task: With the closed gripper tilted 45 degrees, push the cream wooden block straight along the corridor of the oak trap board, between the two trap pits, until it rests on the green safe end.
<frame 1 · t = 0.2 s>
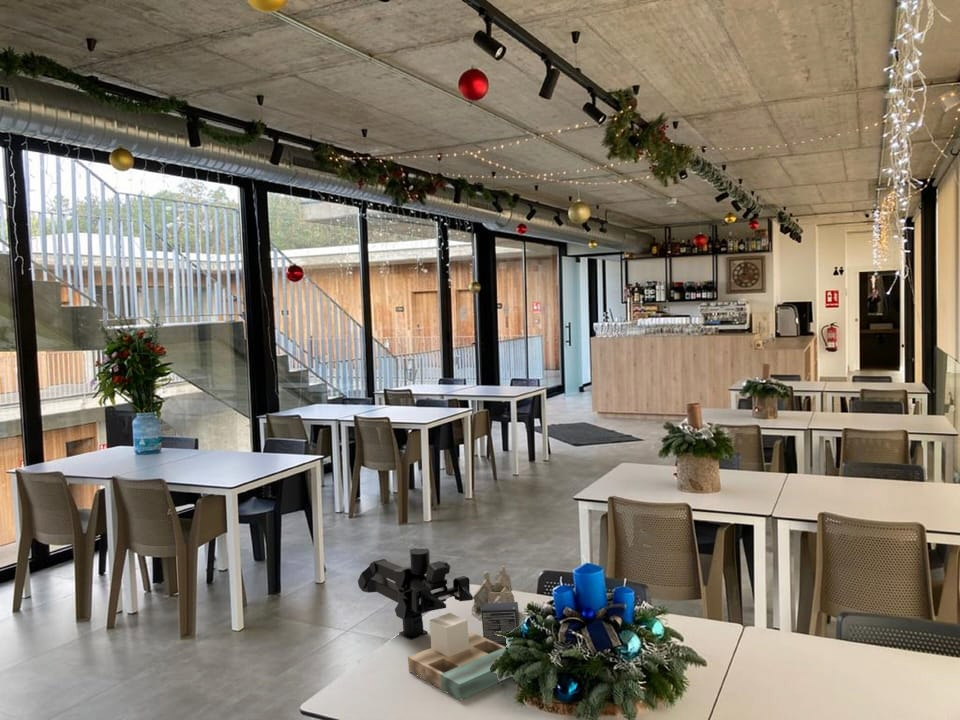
hand: (459, 602, 210), 16 cm above the table, tool horizontal, fingers open, 9 cm apart
ceramic cottage: (493, 616, 241), on the table
trap board: (465, 670, 204), on the table
small box: (502, 641, 221), on the table
cream block: (450, 648, 209), point 4 cm above the table, touching trap board
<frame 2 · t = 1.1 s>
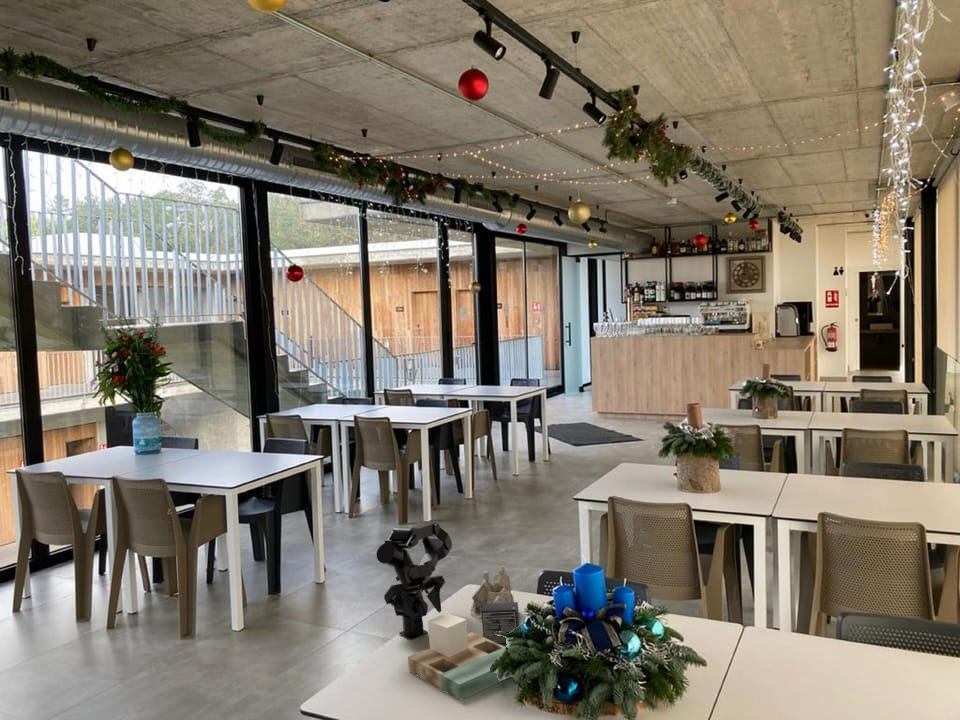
hand: (427, 615, 215), 11 cm above the table, tool tilted 45°, fingers open, 9 cm apart
nothing on the table moved.
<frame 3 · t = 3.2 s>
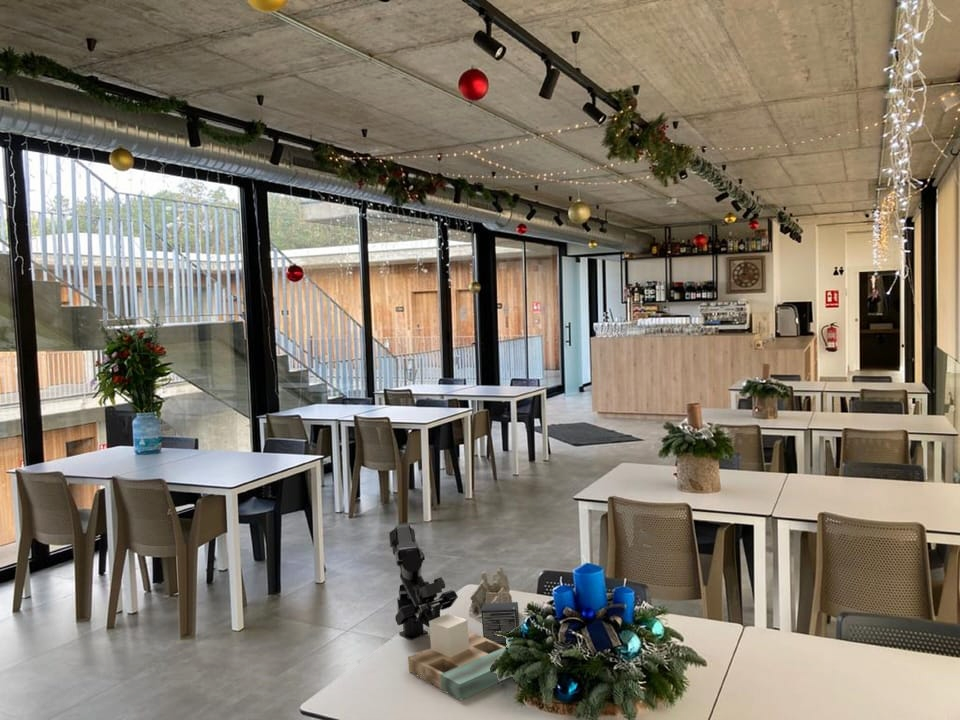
hand: (440, 633, 212), 7 cm above the table, tool tilted 45°, fingers closed
cream block: (450, 649, 208), point 4 cm above the table, touching gripper
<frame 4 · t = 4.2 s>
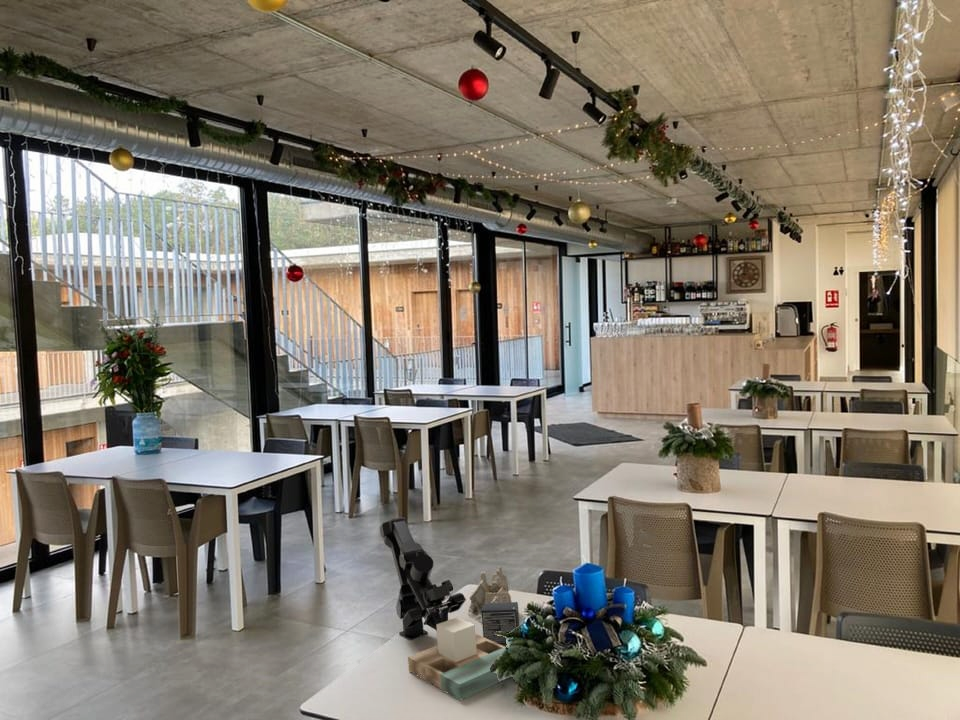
hand: (448, 637, 209), 7 cm above the table, tool tilted 45°, fingers closed, pressing on cream block
cream block: (457, 653, 205), point 4 cm above the table, touching gripper
everything else where it was.
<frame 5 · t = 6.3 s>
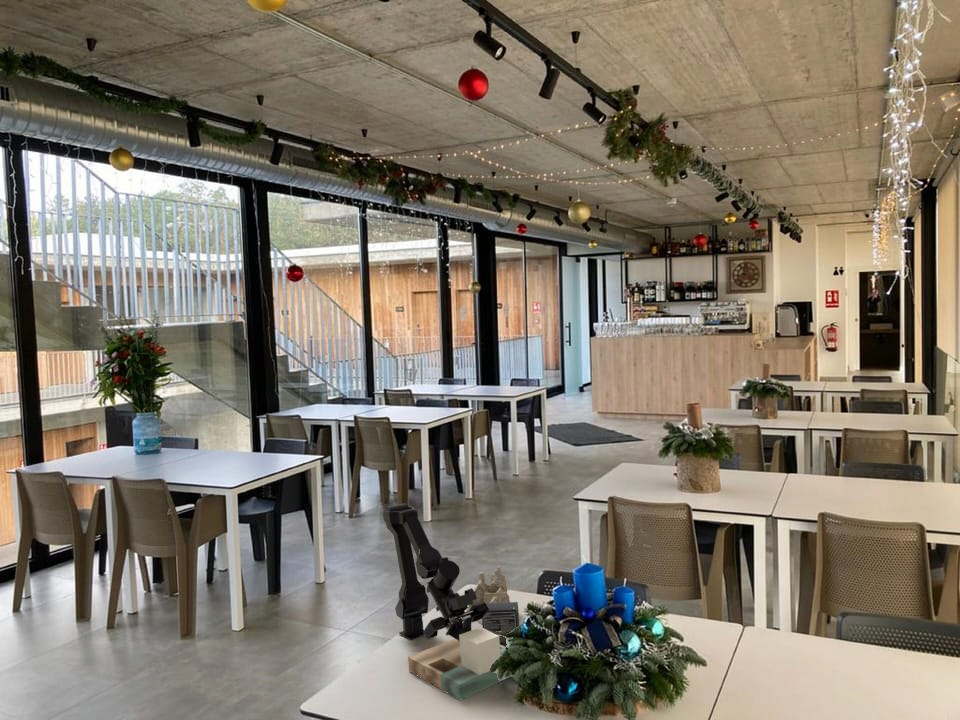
hand: (472, 647, 201), 7 cm above the table, tool tilted 45°, fingers closed, pressing on cream block
cream block: (481, 665, 197), point 4 cm above the table, touching gripper
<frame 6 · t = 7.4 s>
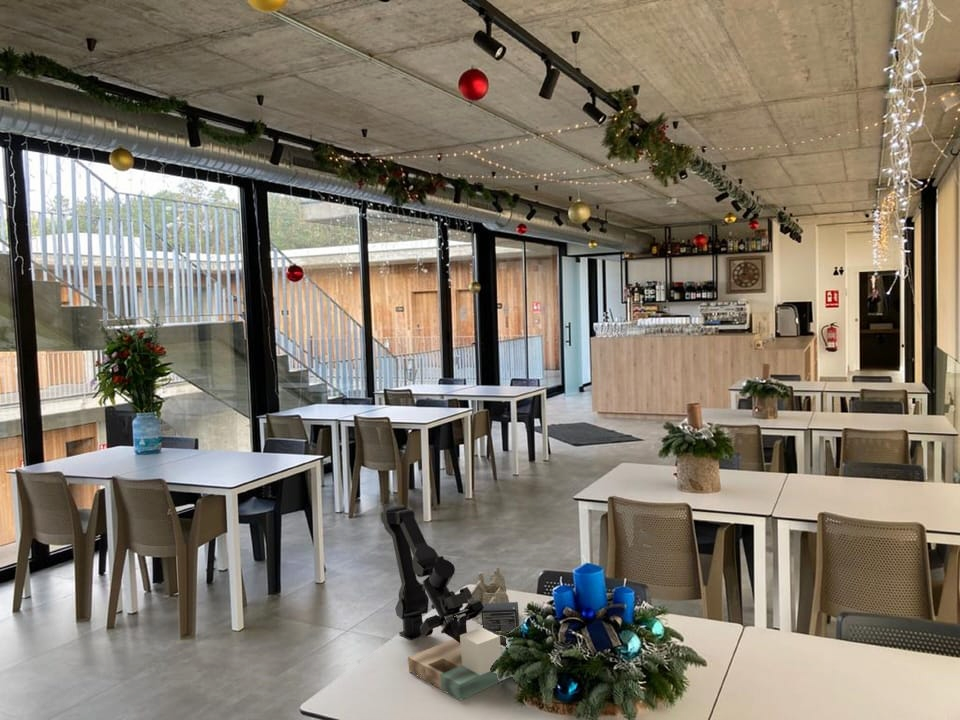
hand: (467, 646, 203), 7 cm above the table, tool tilted 45°, fingers closed
cream block: (481, 665, 197), point 4 cm above the table, touching trap board
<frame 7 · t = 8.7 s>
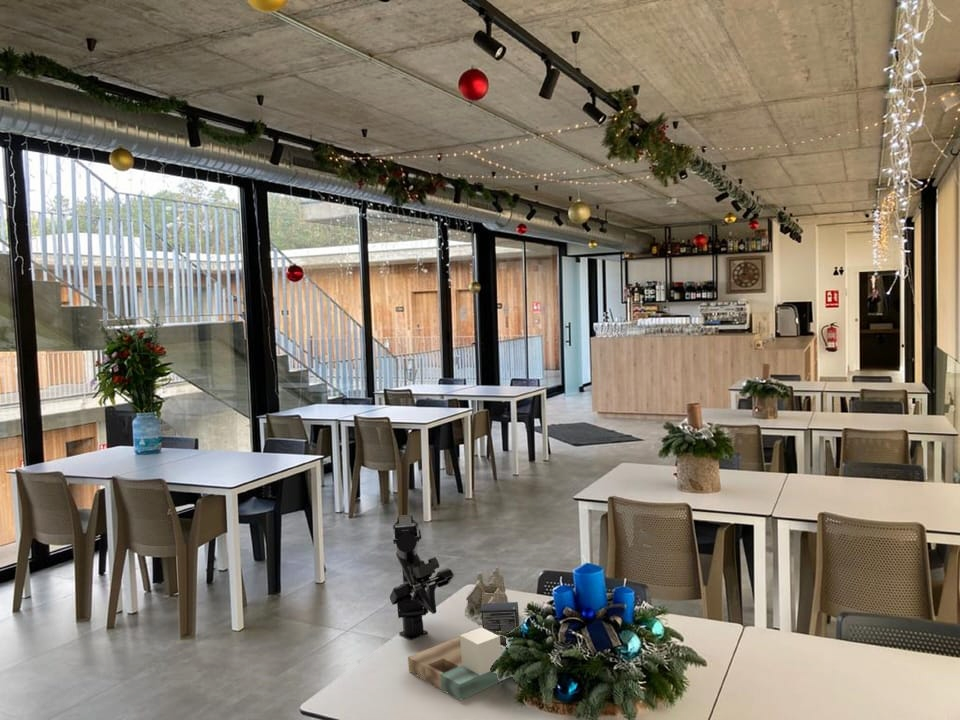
hand: (434, 613, 212), 13 cm above the table, tool tilted 40°, fingers closed
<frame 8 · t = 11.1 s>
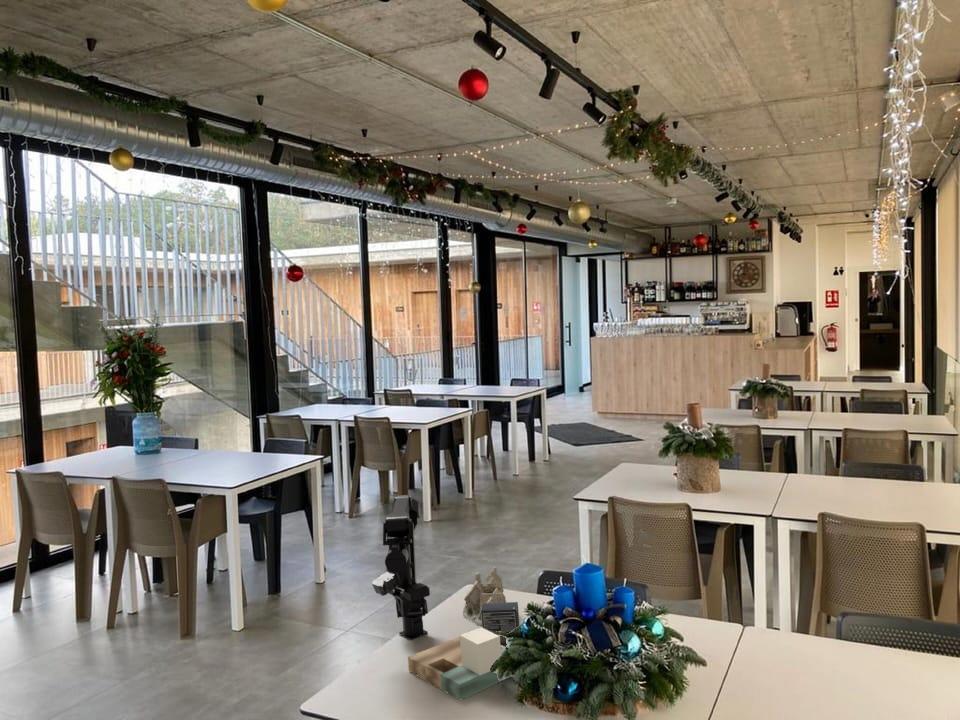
hand: (404, 616, 211), 13 cm above the table, tool pointing down, fingers closed
at the end: cream block 0.9 cm from the target spot on the trap board, point 4.0 cm above the trap board's base; cream block tilted 0° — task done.
